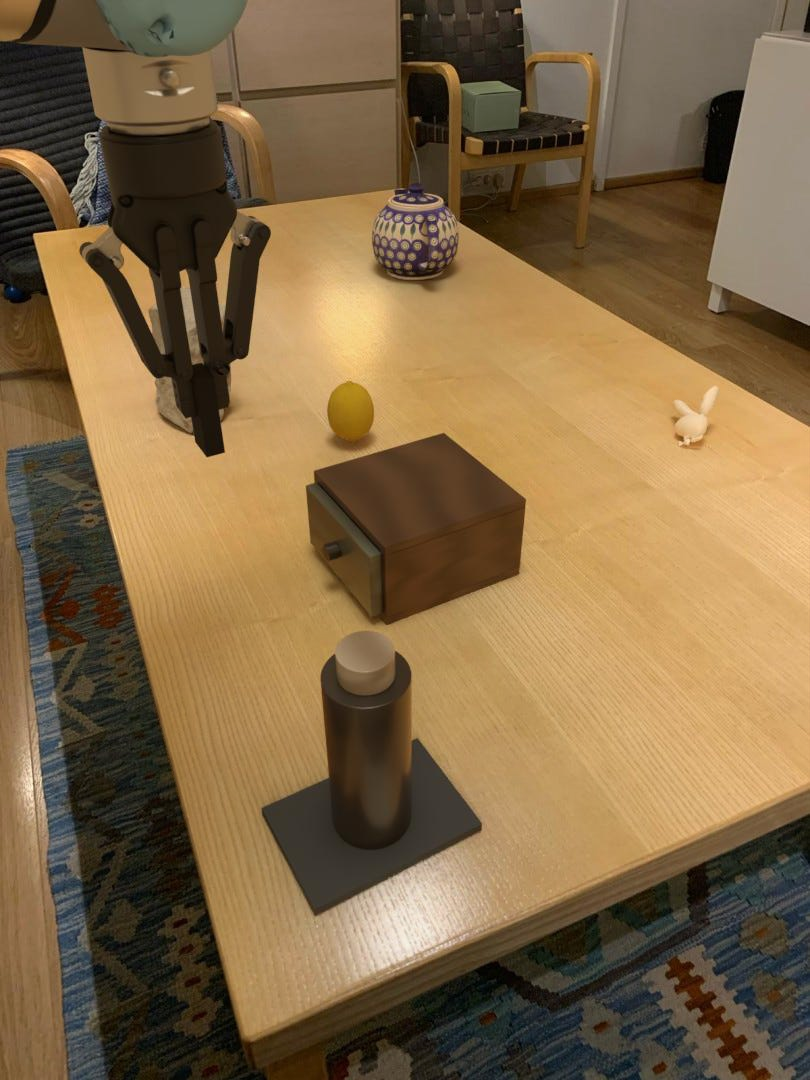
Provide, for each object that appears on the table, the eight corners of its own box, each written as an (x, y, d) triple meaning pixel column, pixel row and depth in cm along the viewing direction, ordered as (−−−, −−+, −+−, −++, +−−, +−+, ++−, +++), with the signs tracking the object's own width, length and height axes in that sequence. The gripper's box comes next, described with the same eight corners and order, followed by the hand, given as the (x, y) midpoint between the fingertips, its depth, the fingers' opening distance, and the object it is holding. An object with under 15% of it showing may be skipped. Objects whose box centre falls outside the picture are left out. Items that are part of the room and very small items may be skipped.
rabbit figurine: (658, 444, 105) (667, 391, 109) (675, 461, 108) (683, 409, 111) (704, 433, 101) (712, 378, 105) (720, 451, 103) (728, 397, 107)
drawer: (359, 622, 78) (356, 561, 74) (299, 546, 87) (293, 488, 83) (496, 570, 84) (500, 511, 80) (426, 504, 93) (426, 448, 89)
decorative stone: (140, 413, 112) (118, 303, 103) (195, 387, 118) (178, 281, 109) (194, 437, 107) (175, 324, 98) (248, 409, 113) (235, 300, 104)
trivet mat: (315, 916, 57) (314, 909, 56) (262, 814, 63) (260, 807, 63) (481, 830, 62) (482, 823, 61) (417, 744, 68) (417, 737, 68)
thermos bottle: (354, 863, 59) (344, 697, 49) (319, 803, 63) (303, 639, 53) (426, 827, 61) (429, 662, 52) (387, 771, 65) (383, 608, 56)
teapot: (473, 293, 146) (477, 201, 137) (385, 299, 143) (383, 206, 135) (441, 246, 165) (442, 163, 157) (362, 251, 163) (360, 167, 154)
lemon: (320, 440, 106) (315, 380, 102) (355, 426, 109) (352, 367, 105) (348, 458, 103) (345, 397, 98) (384, 442, 106) (382, 382, 101)
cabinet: (386, 625, 79) (384, 547, 74) (319, 543, 89) (313, 470, 84) (519, 574, 85) (526, 498, 80) (442, 503, 95) (443, 432, 90)
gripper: (66, 145, 50) (142, 492, 64) (278, 120, 55) (305, 447, 69) (39, 121, 55) (114, 447, 69) (235, 101, 60) (268, 408, 74)
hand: (210, 447), depth 69 cm, fingers closed
